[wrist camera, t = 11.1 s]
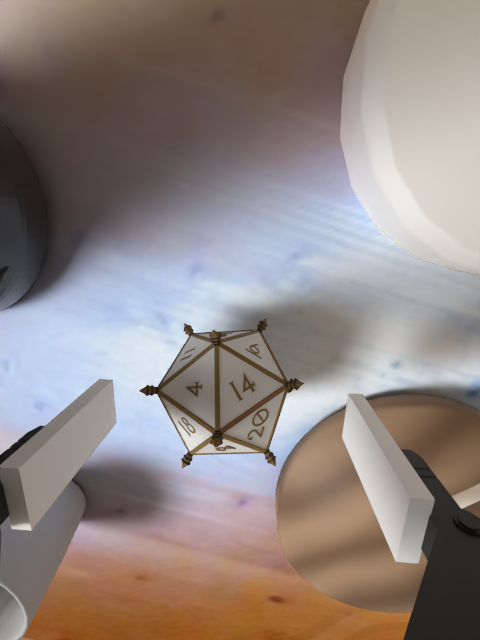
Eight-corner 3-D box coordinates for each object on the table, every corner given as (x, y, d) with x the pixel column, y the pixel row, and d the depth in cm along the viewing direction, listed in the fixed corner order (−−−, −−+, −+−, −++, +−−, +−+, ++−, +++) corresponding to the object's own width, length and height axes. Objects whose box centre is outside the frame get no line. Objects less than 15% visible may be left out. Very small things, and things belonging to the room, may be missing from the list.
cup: (88, 537, 28) (19, 660, 20) (-12, 504, 28) (-125, 616, 19) (106, 479, 26) (37, 590, 18) (-2, 442, 26) (-123, 539, 17)
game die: (214, 277, 20) (177, 312, 11) (313, 338, 21) (360, 420, 12) (157, 373, 23) (86, 471, 13) (248, 424, 24) (244, 552, 14)
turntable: (228, 473, 24) (218, 564, 18) (456, 344, 20) (556, 397, 13) (352, 613, 28) (382, 731, 21) (564, 528, 24) (685, 641, 17)
